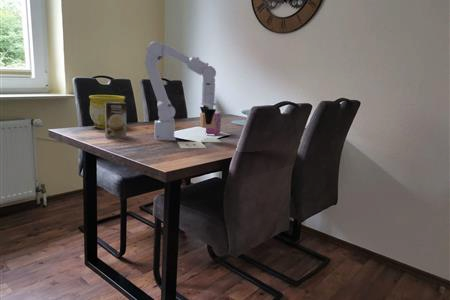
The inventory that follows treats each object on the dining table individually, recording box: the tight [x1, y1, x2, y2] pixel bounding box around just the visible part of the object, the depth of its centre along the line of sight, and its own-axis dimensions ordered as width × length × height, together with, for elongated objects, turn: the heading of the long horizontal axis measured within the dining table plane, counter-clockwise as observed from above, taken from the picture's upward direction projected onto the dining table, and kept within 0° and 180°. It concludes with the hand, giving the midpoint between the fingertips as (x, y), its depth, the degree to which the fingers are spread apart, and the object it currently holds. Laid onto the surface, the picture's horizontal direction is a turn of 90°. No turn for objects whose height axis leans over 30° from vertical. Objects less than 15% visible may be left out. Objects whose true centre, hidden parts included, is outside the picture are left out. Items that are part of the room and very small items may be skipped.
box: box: [205, 110, 222, 136], centre depth 179 cm, size 10×6×12 cm, turn 168°
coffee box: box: [104, 101, 127, 139], centre depth 158 cm, size 9×6×16 cm
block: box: [199, 112, 215, 129], centre depth 157 cm, size 6×6×6 cm
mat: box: [200, 137, 222, 143], centre depth 162 cm, size 9×9×1 cm
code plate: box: [177, 141, 207, 149], centre depth 150 cm, size 11×12×1 cm
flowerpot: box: [88, 94, 126, 130], centre depth 181 cm, size 18×18×16 cm
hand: (207, 123), depth 157 cm, fingers closed on block, 6 cm apart
